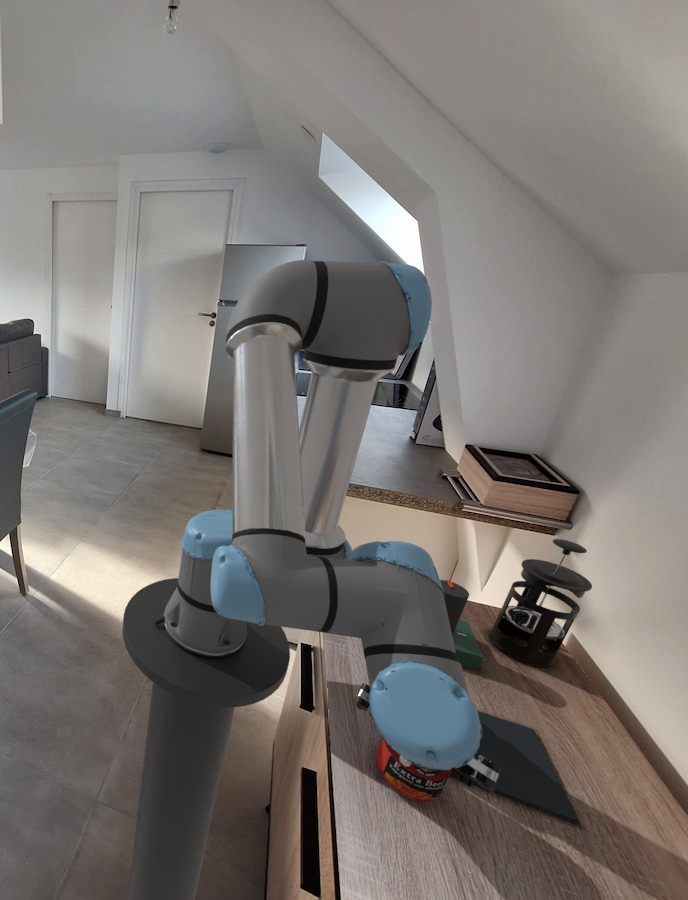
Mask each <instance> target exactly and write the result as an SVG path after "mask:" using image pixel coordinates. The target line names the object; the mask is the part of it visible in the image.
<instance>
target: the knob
mask: <svg viewBox="0 0 688 900" xmlns="http://www.w3.org/2000/svg"><path fill="white" fill-rule="evenodd" d="M440 582H441V585H442V588H443V590H444V595H445V596H444V600H445V604H446V609H447V614H448V618H449V623H450V628H451V632H452V635H453V633H454V631H455V628H456V626H457V624H458V621H459V619H460V618H461V616H462V613H463V611H464V609H465V606H466V605H467V602H468V599H469V597H470V592H469V590H467V589H466V588H465V587H463V586H462V585H460V584H458V583H455V582H453V581H452V580H451V579H448V578H447V579H446V580H445V579H440ZM460 620H461V619H460Z"/></svg>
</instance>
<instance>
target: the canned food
mask: <svg viewBox="0 0 688 900" xmlns="http://www.w3.org/2000/svg"><path fill="white" fill-rule="evenodd" d="M375 752H376V753H375V759H376V766H377V768H378V771H379V773H380V774H381V776H382V777H383V779H384V781H386V783H387V784H388V785H389V786H390V787H391V788H393V789H394V790H395V791H396V792H397V793H399V794H400V795H402V796H404V797H406V798H408V799H410V800H412V801H415V802H421V803H427V802H431V801H434V800H435V799H436V798H438V797H439V796H440V795H441V794H442V792H443V790H444V787H445V786H446V784H447V783H448V780H449V777H451V776H450V774H451V772H452V769H453V768H452V769H450V770H444V771H430V770H425V769H422V768H419V767H417V766H415V765H413V764H411V765H410V767H407V766H404V765H403V764H402V763H400V761H399V756H400V755H399V754H397V752H396V751H395V750H393V749H392V748H391V747H390V746H389V745H388V744H387V743H386V742H385V741H384V740H383V737H382V736H381V738H380V740H379V743H378V745H377V747H376V751H375Z"/></svg>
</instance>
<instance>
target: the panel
mask: <svg viewBox="0 0 688 900" xmlns="http://www.w3.org/2000/svg"><path fill="white" fill-rule="evenodd" d="M452 637H453V642H454V647H455V651H456V654H457V655H458V658H459V662H460V664H461V666H462V667H466V668H470V669H472V670H476V671H479V670H480V667H481V665H482V663H483V661H484V659H485V656H484V654H483V652H482V650H481V648H480V646H479V643H478V641H477V639H476V637H475V635H474V632H473V630H472V628H471V625H470V623H469V621H468V620H467V621H466V620H464V619H459V621H458V624H457V626H456V628H455V631H454V633H453V635H452Z"/></svg>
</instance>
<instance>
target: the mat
mask: <svg viewBox="0 0 688 900" xmlns="http://www.w3.org/2000/svg"><path fill="white" fill-rule="evenodd" d="M478 715H479V720H480V723H481V725H482V738H481V740H480V746H479V748H478V750H477V753H475V754H474V757H475V758H478V756H479V755H481V756H483V757H484V758H486V759H489V760H491V761H495V762H496V763H498V765H499V766H500V767H502V770H501V776H500V779H499V781H498V783H497V786H496V788H495V790H494V793H495V794H498V795H500V796H503V797H504V798H508V799H511V800H513V801H516V802H518V803H521V804H524V805H525V806H526V805H527V806H529V807H531V808H534V809H536V810H539V811H542V812H545V813H547V814H550V815H552V816H555V817H557V818H561V819H563V820H565V821H568V822H571V823H573V824H576V825H579V823H580V819H579V817H578V815H577V814H576V811H575V810H574V807H573V805H572V804H571V801H570V798H569V797H568V795H567V793H566V791H565V789H564V787H563V785H562V783H561V781H560V779H559V777H558V775H557V772H556V771H555V769H554V767H553V764H552V763H551V761H550V758H549V757H548V755H547V753H546V750H545V749H544V747H543V744H542V742H541V740H540V738H539V736H538V735H537V732H536V731H535V729H534V728H531V727H528V726H524V725H522V724H519V723H515V722H514V721H513V722H512V721H510V720H507V719H503V718H500V717H498V716H495V715H491V714H489V713H485V712H482V711H480V710H478ZM449 777H453V778H456V779H458V780H459V778H460V775H458V776H457V775H456V774H454V773H453V772H451V774H450V776H449ZM472 785H473V786H477V787H479V788H482V789H483V787H481V786H480V785H479V784H478V783H477V782H476V780H475V779H474V781H473V783H472Z"/></svg>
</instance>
